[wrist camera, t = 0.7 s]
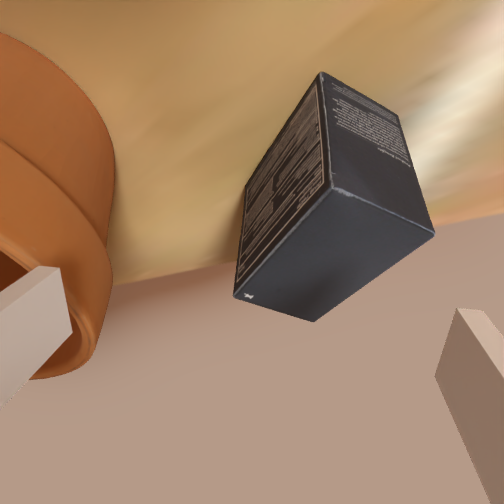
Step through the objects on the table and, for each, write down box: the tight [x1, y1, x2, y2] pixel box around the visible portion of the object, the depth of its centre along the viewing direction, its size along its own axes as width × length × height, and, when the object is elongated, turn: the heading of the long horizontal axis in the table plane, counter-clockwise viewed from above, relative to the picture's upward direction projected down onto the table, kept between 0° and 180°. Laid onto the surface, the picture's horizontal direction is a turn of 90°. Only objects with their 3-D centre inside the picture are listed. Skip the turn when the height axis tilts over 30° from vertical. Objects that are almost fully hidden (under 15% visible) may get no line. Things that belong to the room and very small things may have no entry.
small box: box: [233, 72, 435, 322], centre depth 23 cm, size 11×6×10 cm, turn 154°
